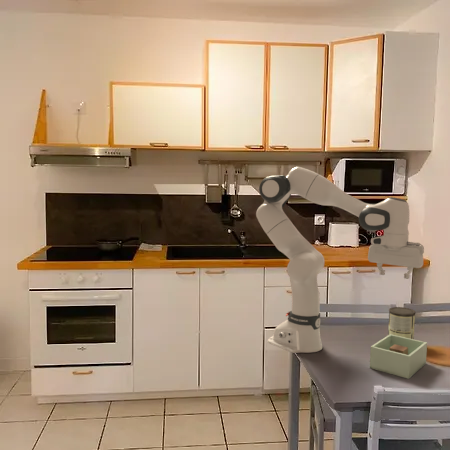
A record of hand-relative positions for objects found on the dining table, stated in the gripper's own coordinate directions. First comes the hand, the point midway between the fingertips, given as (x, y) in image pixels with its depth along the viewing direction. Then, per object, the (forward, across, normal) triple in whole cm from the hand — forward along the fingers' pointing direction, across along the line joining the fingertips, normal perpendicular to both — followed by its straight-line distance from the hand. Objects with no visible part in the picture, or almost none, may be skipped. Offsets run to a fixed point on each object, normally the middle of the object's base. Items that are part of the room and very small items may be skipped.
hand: (394, 276), depth 181 cm
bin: (+31, -6, +8) cm, 33 cm away
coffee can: (+31, +2, -16) cm, 35 cm away
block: (+30, -6, +8) cm, 32 cm away
